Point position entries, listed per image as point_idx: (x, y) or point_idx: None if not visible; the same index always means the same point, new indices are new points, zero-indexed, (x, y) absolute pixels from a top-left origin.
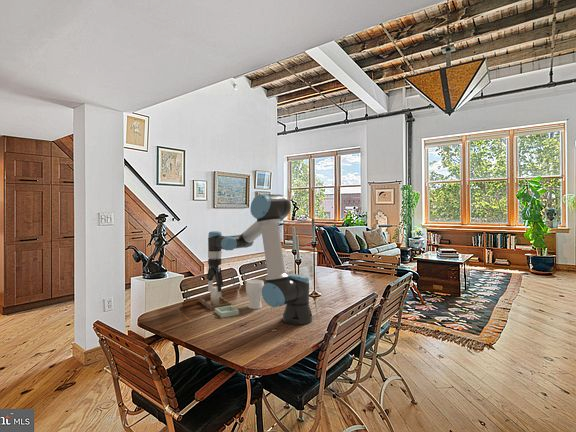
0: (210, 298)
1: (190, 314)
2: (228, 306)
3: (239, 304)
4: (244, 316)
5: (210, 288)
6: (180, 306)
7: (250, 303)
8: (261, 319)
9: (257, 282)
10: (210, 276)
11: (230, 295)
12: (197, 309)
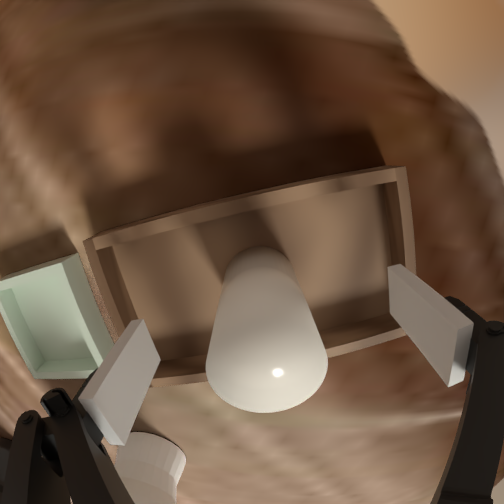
0: (397, 263)
1: (89, 85)
2: (92, 354)
3: (224, 416)
4: (29, 375)
5: (404, 302)
6: (317, 16)
7: (124, 454)
8: (12, 407)
9: None
10: (463, 417)
11: (435, 384)
12: (186, 128)
